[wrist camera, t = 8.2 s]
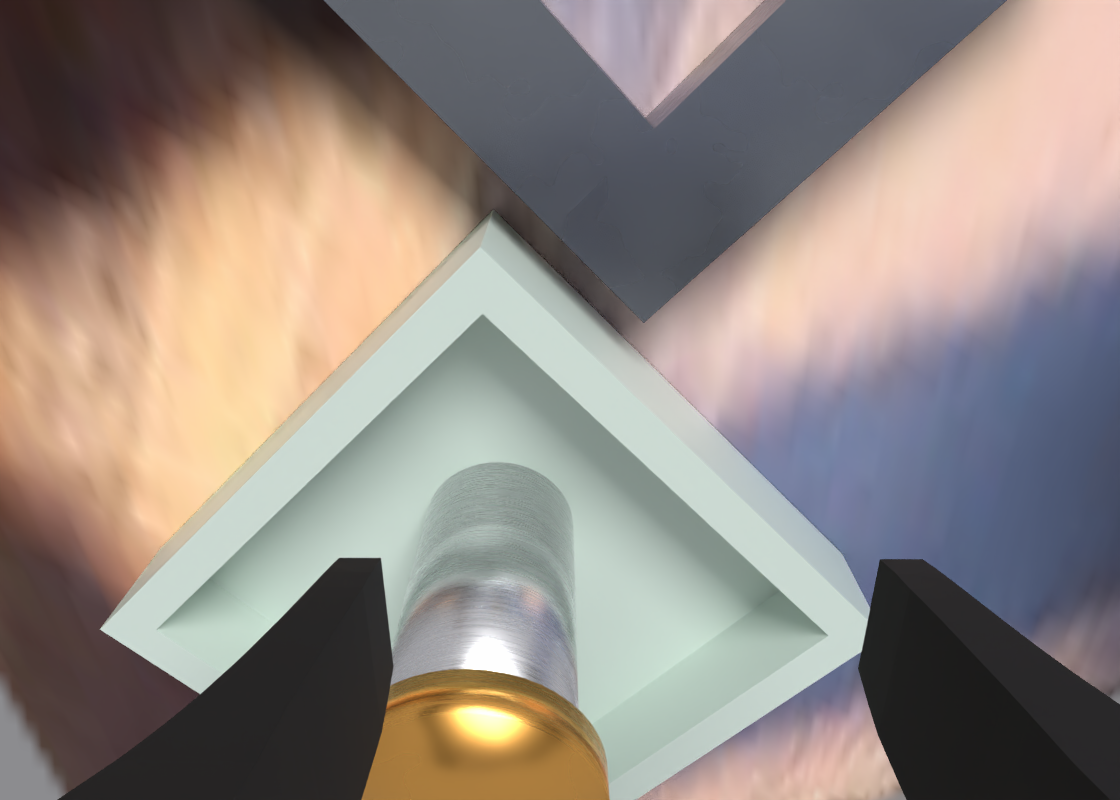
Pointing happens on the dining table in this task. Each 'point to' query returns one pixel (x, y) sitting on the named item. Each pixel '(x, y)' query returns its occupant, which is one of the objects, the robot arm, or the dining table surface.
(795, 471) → the dining table surface
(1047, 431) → the dining table surface
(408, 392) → the tray
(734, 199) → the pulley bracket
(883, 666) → the robot arm
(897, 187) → the dining table surface
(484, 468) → the pin
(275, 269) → the dining table surface
